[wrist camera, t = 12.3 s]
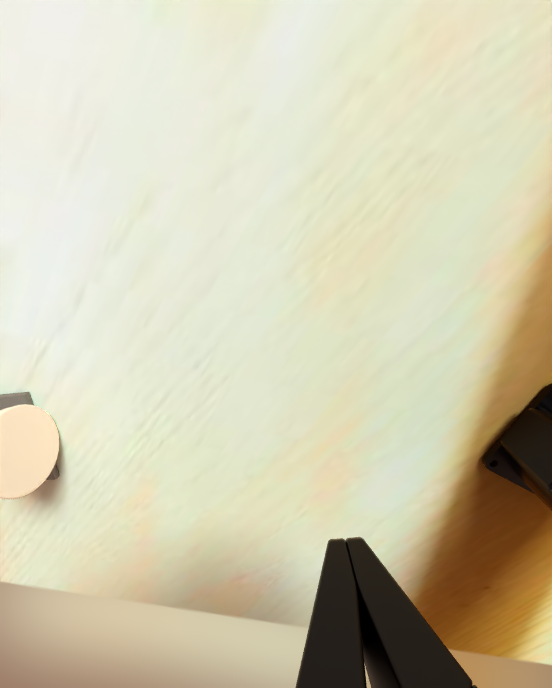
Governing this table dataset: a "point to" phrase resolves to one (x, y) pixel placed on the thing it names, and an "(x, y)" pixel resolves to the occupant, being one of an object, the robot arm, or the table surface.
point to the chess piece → (26, 449)
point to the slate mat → (21, 399)
